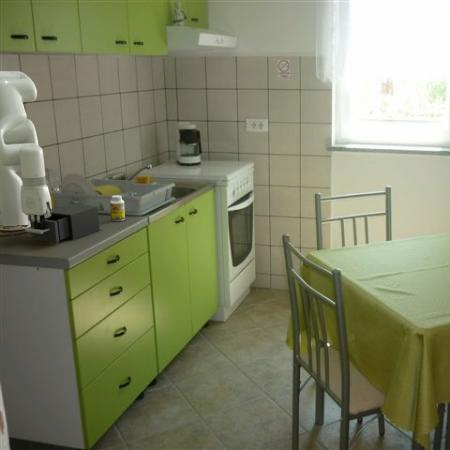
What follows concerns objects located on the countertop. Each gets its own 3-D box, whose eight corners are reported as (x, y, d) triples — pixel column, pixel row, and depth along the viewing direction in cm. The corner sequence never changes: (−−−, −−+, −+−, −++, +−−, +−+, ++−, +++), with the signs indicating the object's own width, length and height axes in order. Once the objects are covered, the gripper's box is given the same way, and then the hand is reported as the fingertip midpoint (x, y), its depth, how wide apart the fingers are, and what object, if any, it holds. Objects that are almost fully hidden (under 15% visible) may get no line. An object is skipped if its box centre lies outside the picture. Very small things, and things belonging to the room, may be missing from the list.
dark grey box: (73, 240, 216) (70, 214, 214) (46, 236, 220) (43, 211, 218) (99, 230, 229) (97, 206, 227) (74, 226, 234) (71, 203, 231)
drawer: (46, 246, 205) (44, 225, 203) (21, 242, 209) (19, 221, 207) (82, 233, 221) (81, 213, 219) (59, 230, 225) (57, 210, 223)
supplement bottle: (108, 220, 243) (106, 196, 241) (118, 217, 248) (116, 194, 245) (118, 222, 241) (116, 198, 238) (128, 219, 245) (126, 195, 243)
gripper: (9, 182, 203) (15, 232, 208) (43, 185, 198) (48, 237, 203) (26, 178, 210) (31, 227, 215) (59, 181, 205) (64, 232, 210)
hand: (39, 232), depth 209 cm, fingers closed
